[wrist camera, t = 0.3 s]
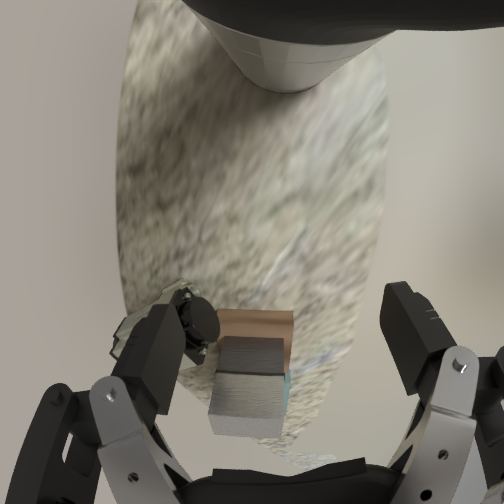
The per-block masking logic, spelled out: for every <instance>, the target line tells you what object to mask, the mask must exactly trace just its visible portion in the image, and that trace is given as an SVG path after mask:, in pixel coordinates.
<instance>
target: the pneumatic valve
mask: <svg viewBox="0 0 504 504" xmlns="http://www.w3.org/2000/svg"><path fill="white" fill-rule="evenodd" d="M170 303H172V304H173V305H174V306H175V308H176V311H177V314H178V316H179V319H180V322H181V324H182V327H183V330H184V332H185V337H186V346H185V350H184V354H183V357H182V361H181V365H180V368H179V371H181V370H185V369H188V368H191V367H195V366H198V365H201V364H203V362H204V358H205V354H207V347H208V344H209V343H212V342H214V341H216V340H217V339H218V338H219V335H220V322H219V319H218V316H217V314H216V312H215V310H214V308H213V307H212V305H211V304H210V303H209V302H208V301H207V300H205V299H204V298H202V297H201V294H200V291H199V289H198V288H197V287H196V286H195V285H194V284H190V285H188V281H187V279H183V278H182V279H181V280H179V281H177V282H175V283H173V284H172V285H170V286H168V287H166V288H164V289H163V291H162V295H161V297H160V299H159V300H157V301H155V302H153V303H151V304H150V305H148V306H146V307H144V308H142V309H140V310H138V311H136V312H135V313H133V314H131V315H129V316H127V317H125V318H124V319H123V321H122V322H121V324H120V325H119V327H118V329H117V330H116V332H115V333H114V335H113V337H114V338H115V339H114V342H113V348H112V349H111V351H110V355H111V356H112V357H113V358H115V359H116V360H118V358H119V356H120V354H121V352H122V350H123V347H124V346H125V343H126V341H127V339H128V338H129V335H130V333H131V331H132V329H133V327H134V325H135V324H136V323H137V322H138V321H140V320H141V319H142V318H143V317H147V316H148V313H149V311H150V309H151V307H152V306H153V305H154V304H170Z"/></svg>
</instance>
